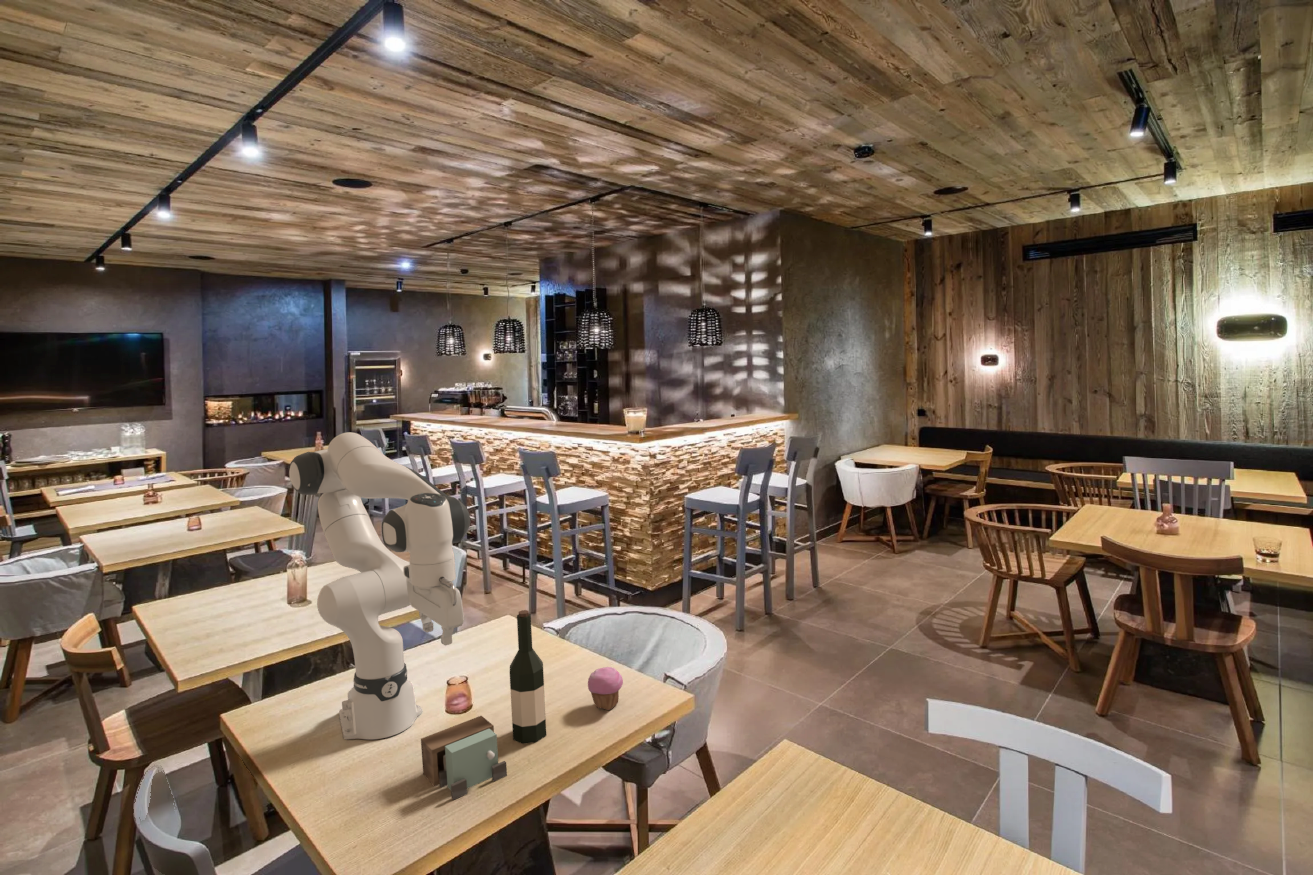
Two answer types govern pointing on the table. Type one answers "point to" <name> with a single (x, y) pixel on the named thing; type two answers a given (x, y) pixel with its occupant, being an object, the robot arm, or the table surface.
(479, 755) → the door
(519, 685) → the wine bottle
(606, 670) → the cupcake
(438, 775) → the cabinet
